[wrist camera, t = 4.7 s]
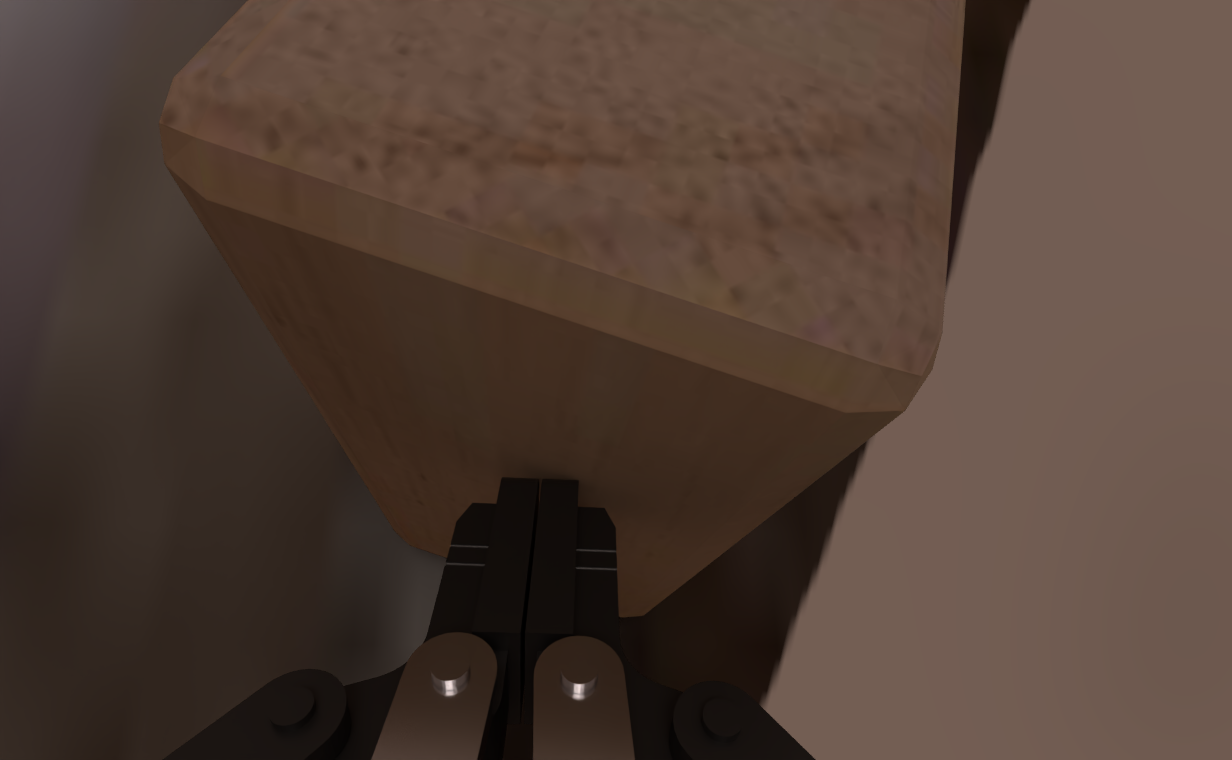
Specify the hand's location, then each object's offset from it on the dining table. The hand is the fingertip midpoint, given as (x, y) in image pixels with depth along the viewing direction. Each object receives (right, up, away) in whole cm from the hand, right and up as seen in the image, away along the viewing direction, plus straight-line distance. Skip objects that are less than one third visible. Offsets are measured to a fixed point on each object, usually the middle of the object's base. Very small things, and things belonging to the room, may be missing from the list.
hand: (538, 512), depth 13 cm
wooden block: (-1, -1, +14) cm, 14 cm away
